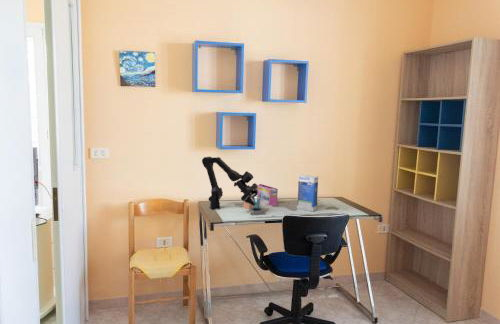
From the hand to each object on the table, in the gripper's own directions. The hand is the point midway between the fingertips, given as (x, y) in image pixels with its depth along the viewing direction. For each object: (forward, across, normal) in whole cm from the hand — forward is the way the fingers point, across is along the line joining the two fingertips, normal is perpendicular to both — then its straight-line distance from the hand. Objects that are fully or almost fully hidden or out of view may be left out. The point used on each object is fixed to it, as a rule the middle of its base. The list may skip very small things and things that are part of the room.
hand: (257, 203), depth 281 cm
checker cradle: (+5, 0, +6) cm, 8 cm away
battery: (+4, 0, +5) cm, 7 cm away
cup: (-2, +12, +13) cm, 18 cm away
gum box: (0, +35, +11) cm, 37 cm away
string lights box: (+25, +32, -14) cm, 43 cm away
